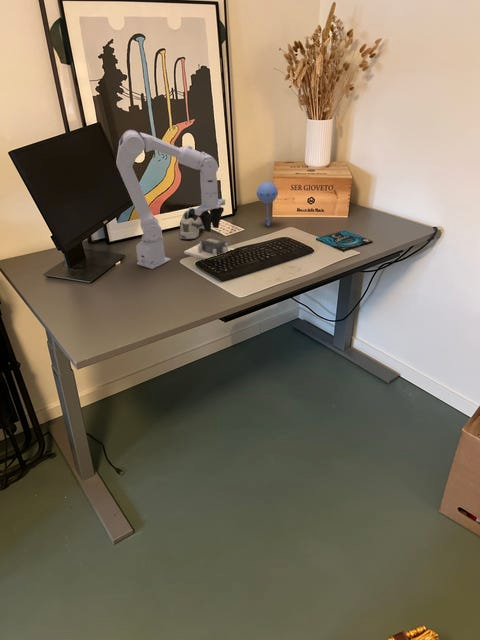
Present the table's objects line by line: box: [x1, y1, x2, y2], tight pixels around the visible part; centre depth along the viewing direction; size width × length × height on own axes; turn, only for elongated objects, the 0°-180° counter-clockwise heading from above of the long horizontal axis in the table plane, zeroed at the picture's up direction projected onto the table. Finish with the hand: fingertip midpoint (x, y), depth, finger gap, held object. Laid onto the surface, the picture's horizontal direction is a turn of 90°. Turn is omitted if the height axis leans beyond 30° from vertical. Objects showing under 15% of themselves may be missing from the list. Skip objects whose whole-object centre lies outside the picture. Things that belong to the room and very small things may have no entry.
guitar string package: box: [315, 229, 374, 253], centre depth 184 cm, size 15×1×15 cm
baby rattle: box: [256, 181, 279, 227], centre depth 198 cm, size 9×9×18 cm
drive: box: [200, 236, 226, 255], centre depth 176 cm, size 8×4×4 cm, turn 54°
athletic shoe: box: [179, 207, 205, 241], centre depth 198 cm, size 10×23×12 cm, turn 173°
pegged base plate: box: [183, 240, 235, 259], centre depth 178 cm, size 12×16×4 cm
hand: (211, 229), depth 173 cm, fingers open, 4 cm apart
